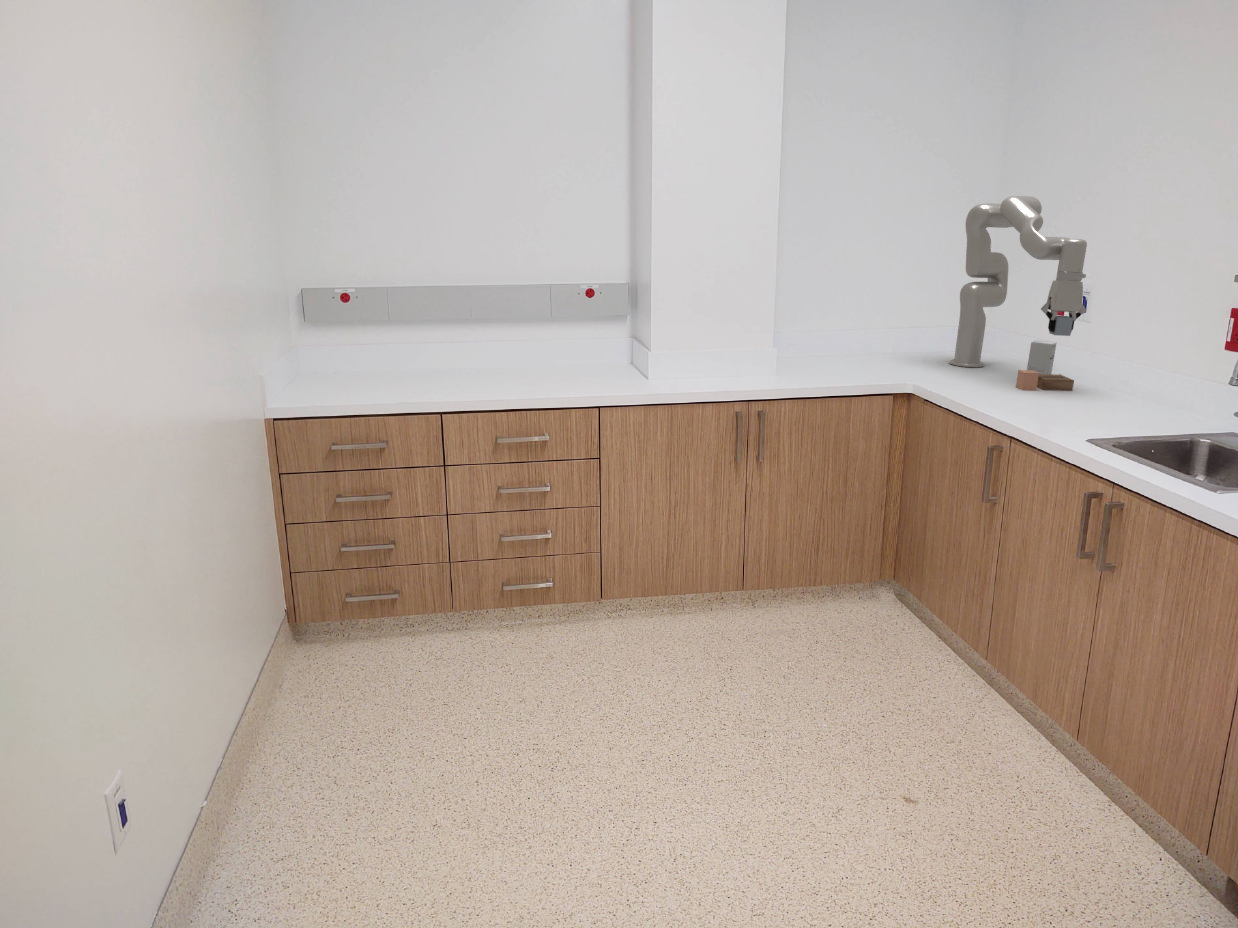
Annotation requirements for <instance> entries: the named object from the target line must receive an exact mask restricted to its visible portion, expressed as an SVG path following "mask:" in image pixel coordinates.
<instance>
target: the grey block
mask: <svg viewBox="0 0 1238 928" xmlns="http://www.w3.org/2000/svg"><path fill="white" fill-rule="evenodd" d="M1055 320H1056V325H1055V331H1054V332H1050V331H1049V330H1048V333H1049V334H1050V335H1053V336H1061V337H1062V336H1064V337H1070V336H1071V334H1072V332H1071V329H1072V323H1073V318H1072V317H1069V315H1056V318H1055Z"/></svg>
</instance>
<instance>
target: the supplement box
mask: <svg viewBox="0 0 1238 928" xmlns="http://www.w3.org/2000/svg"><path fill="white" fill-rule="evenodd" d="M1056 347H1057V341H1048V340H1039V339H1038V340H1033V341H1031V342H1030V348H1029V355H1028V360H1027V366H1026V370H1033V371H1036V372H1038V373H1039V374H1052V371H1053V368H1054V367H1053V366H1054V361H1055V360H1054V359H1055V354H1056Z"/></svg>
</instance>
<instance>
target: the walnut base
mask: <svg viewBox="0 0 1238 928" xmlns="http://www.w3.org/2000/svg"><path fill="white" fill-rule="evenodd" d="M1074 383H1075V379H1072V378H1070V377H1068V376H1064V375H1062V374H1055V373H1054V374H1052V373H1051V374H1039V377H1038V383H1037V389H1039V390H1042V391H1058V392H1059V391H1061V392H1062V391H1063V392H1064V391H1065V392H1067V391H1069V392H1073V390H1074Z"/></svg>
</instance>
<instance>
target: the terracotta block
mask: <svg viewBox="0 0 1238 928" xmlns="http://www.w3.org/2000/svg"><path fill="white" fill-rule="evenodd" d="M1038 377H1039V373H1038V372H1036V371H1033V370H1027V369H1018V371H1017V377H1016V383H1015V388H1017V389H1018V388H1019V389H1018V390H1020V389H1021V390H1020V391H1037V389H1038V388H1037V383H1038Z"/></svg>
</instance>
